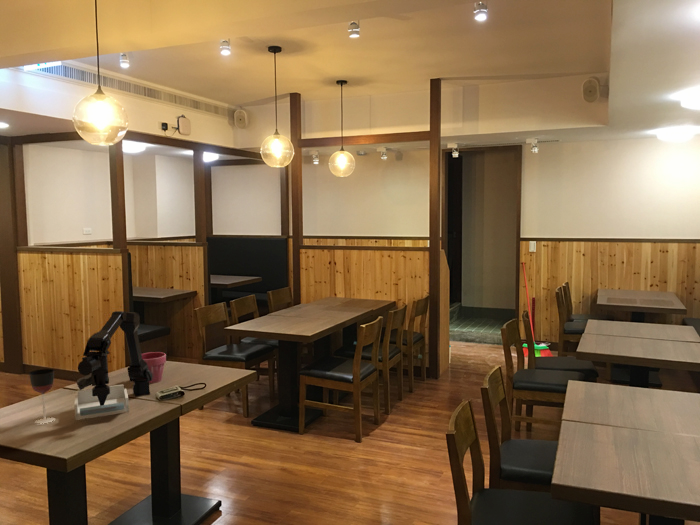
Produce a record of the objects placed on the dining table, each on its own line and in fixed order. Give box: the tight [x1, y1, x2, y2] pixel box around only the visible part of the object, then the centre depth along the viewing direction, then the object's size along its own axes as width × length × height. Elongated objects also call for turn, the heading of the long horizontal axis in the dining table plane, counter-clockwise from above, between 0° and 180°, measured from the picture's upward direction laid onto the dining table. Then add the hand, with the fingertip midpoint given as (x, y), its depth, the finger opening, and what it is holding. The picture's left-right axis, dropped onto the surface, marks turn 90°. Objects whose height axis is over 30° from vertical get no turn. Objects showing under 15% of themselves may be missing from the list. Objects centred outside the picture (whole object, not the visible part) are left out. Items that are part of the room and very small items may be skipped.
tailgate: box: [80, 402, 124, 416], centre depth 224 cm, size 16×2×8 cm
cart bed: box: [73, 384, 130, 421], centre depth 234 cm, size 20×14×8 cm
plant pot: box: [141, 351, 167, 384], centre depth 275 cm, size 14×14×13 cm
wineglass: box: [28, 368, 56, 425], centre depth 223 cm, size 8×9×20 cm
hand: (102, 406), depth 223 cm, fingers closed, pressing on tailgate
